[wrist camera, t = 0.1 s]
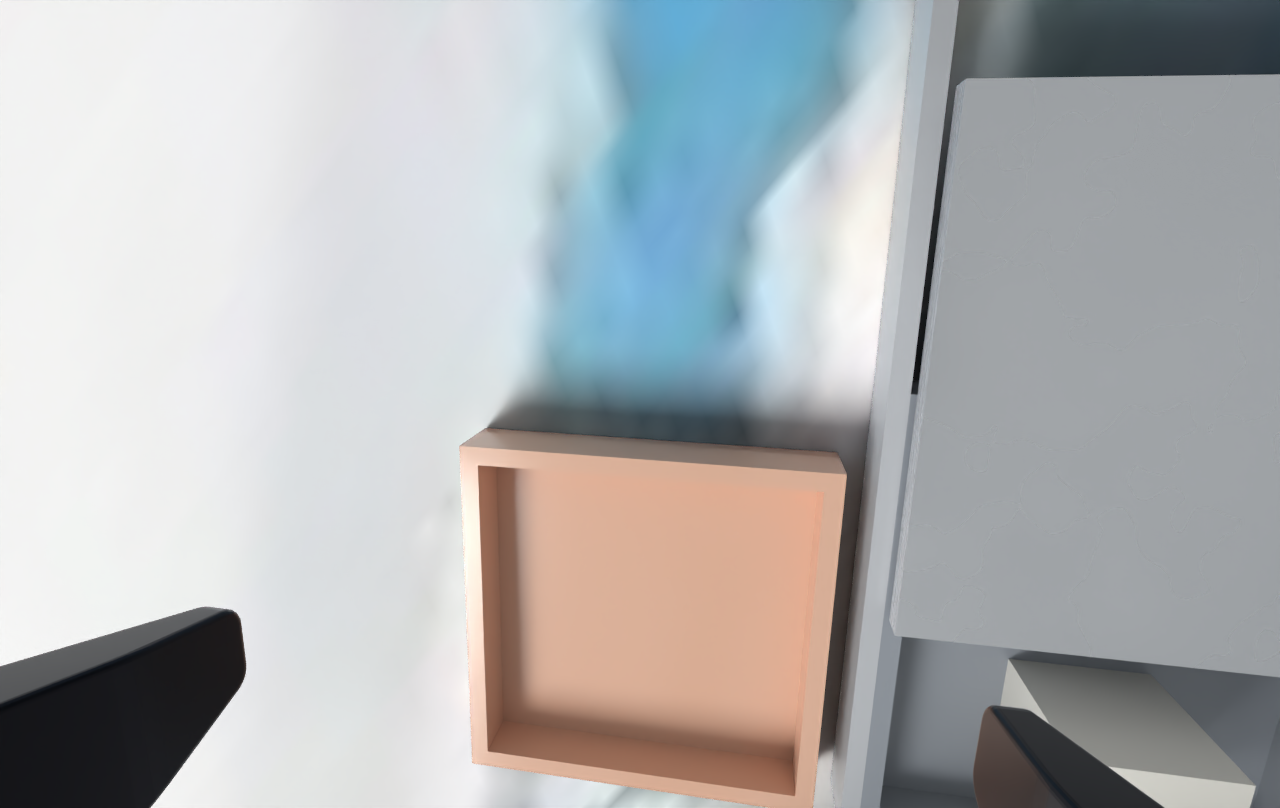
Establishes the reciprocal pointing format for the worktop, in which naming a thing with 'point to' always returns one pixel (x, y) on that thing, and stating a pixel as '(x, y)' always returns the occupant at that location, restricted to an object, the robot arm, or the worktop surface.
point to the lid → (1102, 376)
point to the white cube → (1131, 731)
